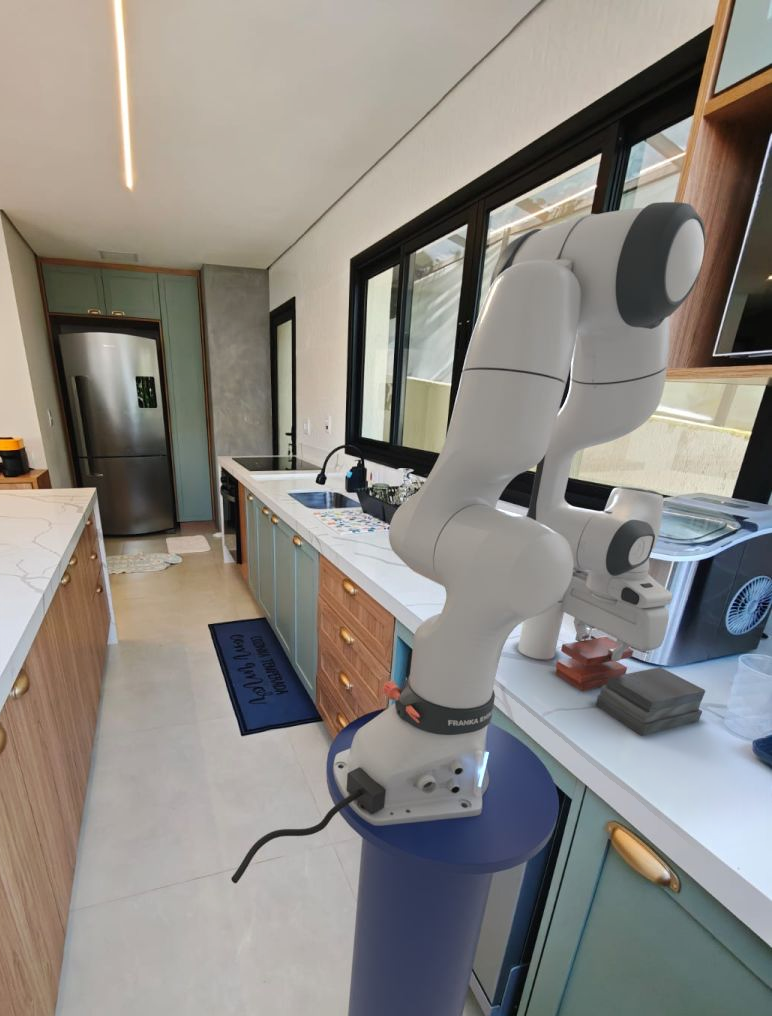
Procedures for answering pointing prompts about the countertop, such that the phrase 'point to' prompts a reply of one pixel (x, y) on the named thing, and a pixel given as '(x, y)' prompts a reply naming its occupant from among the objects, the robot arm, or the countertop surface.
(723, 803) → the countertop surface
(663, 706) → the grey books
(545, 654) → the cylindrical container
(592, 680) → the rust books
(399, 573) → the countertop surface
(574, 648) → the rust booklet
